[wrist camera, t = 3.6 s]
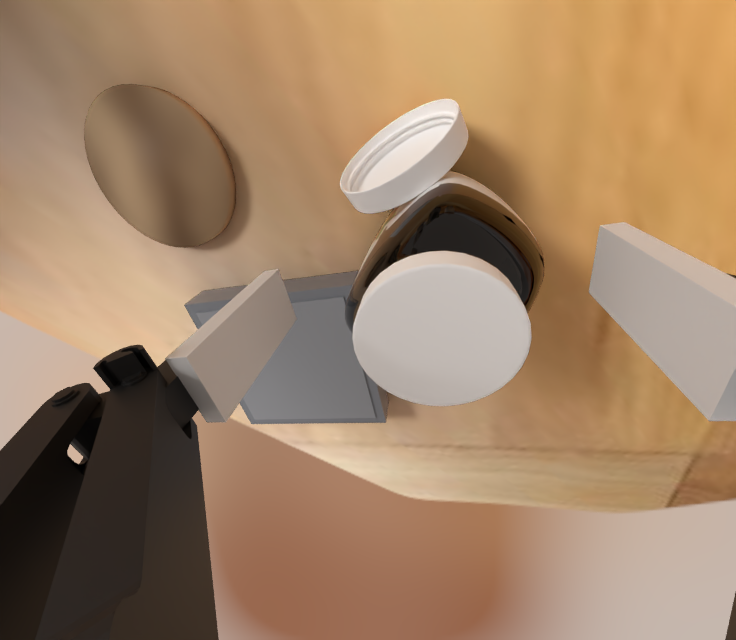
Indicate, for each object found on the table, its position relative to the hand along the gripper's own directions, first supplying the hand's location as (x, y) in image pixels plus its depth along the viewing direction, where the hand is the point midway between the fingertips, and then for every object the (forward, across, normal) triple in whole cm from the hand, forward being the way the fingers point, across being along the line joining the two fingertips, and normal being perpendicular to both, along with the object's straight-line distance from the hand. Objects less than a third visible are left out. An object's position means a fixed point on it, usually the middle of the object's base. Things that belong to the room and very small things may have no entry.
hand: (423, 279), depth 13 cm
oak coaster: (+9, -17, +6) cm, 20 cm away
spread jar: (+9, 0, 0) cm, 9 cm away
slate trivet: (+9, -12, -10) cm, 18 cm away
